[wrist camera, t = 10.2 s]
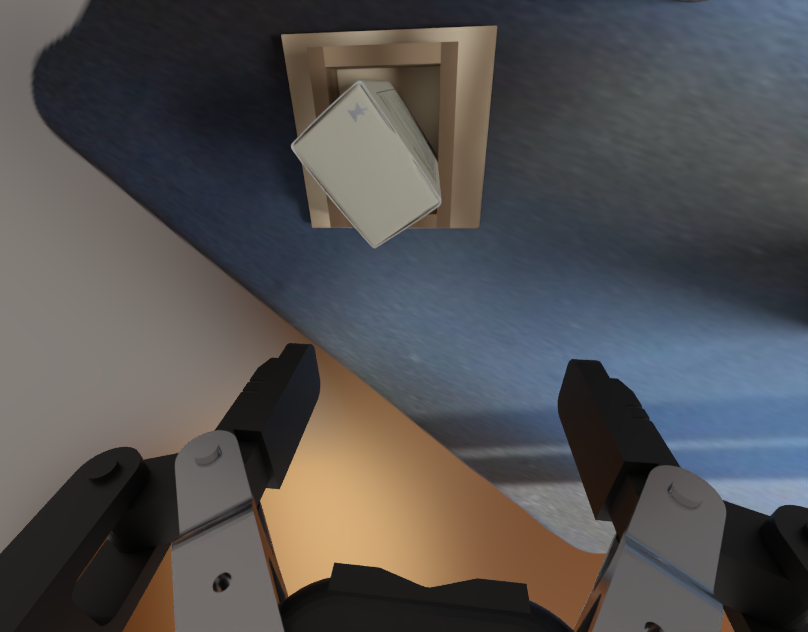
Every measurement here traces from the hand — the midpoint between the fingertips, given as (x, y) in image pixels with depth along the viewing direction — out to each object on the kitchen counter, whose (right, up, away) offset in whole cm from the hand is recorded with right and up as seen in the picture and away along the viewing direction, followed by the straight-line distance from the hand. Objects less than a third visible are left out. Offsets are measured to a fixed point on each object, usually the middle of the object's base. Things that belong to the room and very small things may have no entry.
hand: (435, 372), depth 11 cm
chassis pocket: (-2, +15, +16) cm, 22 cm away
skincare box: (-2, +15, +15) cm, 21 cm away
